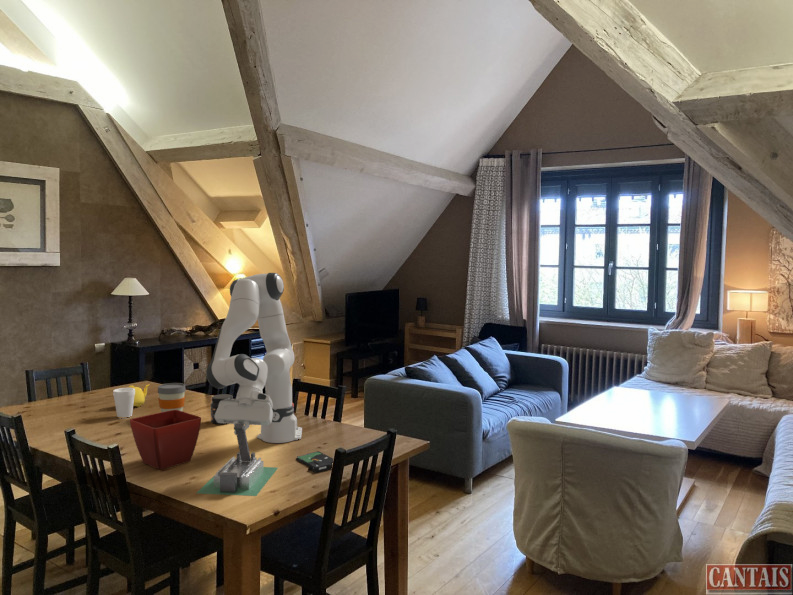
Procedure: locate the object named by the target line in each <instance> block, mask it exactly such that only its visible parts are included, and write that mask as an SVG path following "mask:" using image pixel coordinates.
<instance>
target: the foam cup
mask: <svg viewBox="0 0 793 595" xmlns="http://www.w3.org/2000/svg"><path fill="white" fill-rule="evenodd" d="M112 394H113V396H112V397H113V399H114V405H115V411H116V417H123V418H122V419H125V418H124V417H130V416H133V411H134V406H133V403H134V395H135V389H134V388H129V387H120V388H116V389H113V391H112ZM130 418H131V417H130Z"/></svg>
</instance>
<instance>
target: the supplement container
mask: <svg viewBox="0 0 793 595" xmlns="http://www.w3.org/2000/svg"><path fill="white" fill-rule="evenodd" d="M233 397H234V396H233V395H232V394H226V393H225V394H224V393H223V394H220V393H219V394H215V395H213V396H211V397H210V398H211V402H210V422H211V423H212V424H214V425H226V423H217V421H216V420H215V417H214V416H215V413H216V411H217V408H218V405H219V402H220V401H221V400H224V399H234V398H233Z"/></svg>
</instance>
